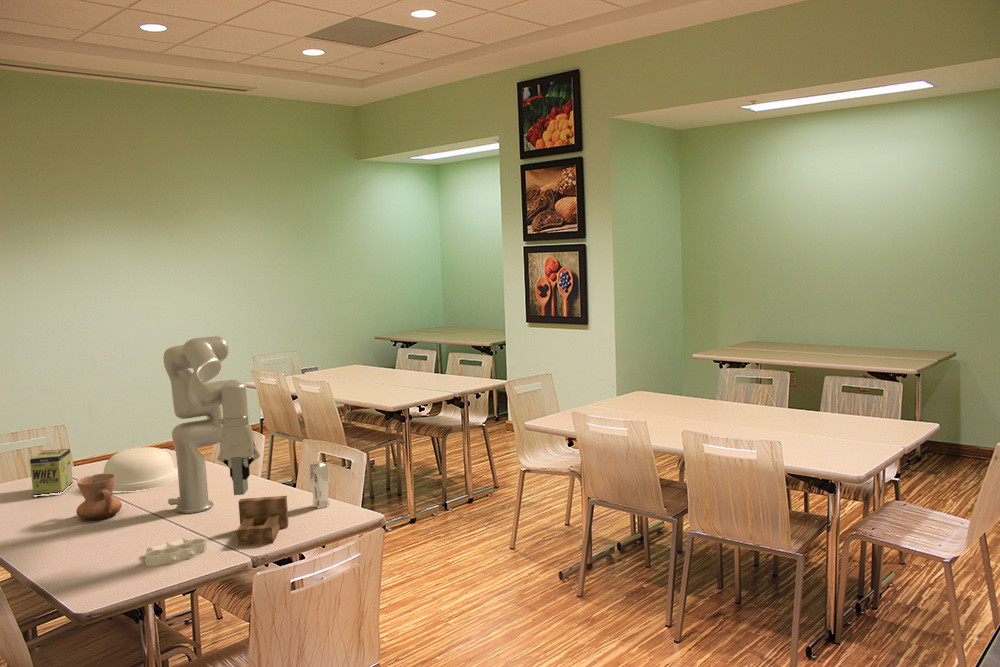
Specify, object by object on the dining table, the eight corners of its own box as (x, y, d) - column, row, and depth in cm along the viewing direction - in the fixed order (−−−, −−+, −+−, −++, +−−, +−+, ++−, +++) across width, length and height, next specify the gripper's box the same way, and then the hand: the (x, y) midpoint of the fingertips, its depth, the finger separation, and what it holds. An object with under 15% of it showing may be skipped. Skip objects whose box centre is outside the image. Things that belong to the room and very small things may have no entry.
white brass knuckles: (194, 543, 250) (214, 554, 240) (135, 559, 238) (153, 571, 227) (193, 532, 250) (213, 543, 239) (135, 548, 238) (153, 560, 227)
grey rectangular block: (233, 495, 247) (231, 457, 246) (238, 489, 253) (235, 453, 252) (243, 494, 247) (240, 457, 246) (248, 489, 253) (245, 452, 252)
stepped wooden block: (230, 546, 244) (228, 515, 244) (242, 528, 261) (240, 498, 260) (280, 542, 246) (278, 511, 245) (288, 524, 263) (286, 495, 262)
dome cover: (167, 469, 346) (164, 437, 345) (192, 481, 324) (190, 447, 323) (87, 485, 325) (84, 451, 324) (109, 499, 303) (106, 463, 301)
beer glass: (334, 503, 285) (332, 462, 283) (324, 509, 278) (321, 467, 277) (317, 502, 287) (315, 461, 286) (307, 508, 280) (304, 466, 279)
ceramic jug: (70, 516, 282) (66, 478, 280) (112, 506, 292) (109, 469, 290) (87, 528, 269) (83, 488, 267) (131, 517, 279) (127, 478, 278)
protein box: (33, 498, 308) (29, 459, 306) (45, 487, 323) (42, 450, 321) (62, 495, 310) (58, 456, 309) (73, 484, 325) (70, 448, 324)
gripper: (206, 426, 244) (210, 484, 245) (259, 422, 245) (264, 480, 247) (212, 421, 251) (217, 477, 253) (264, 418, 253) (268, 474, 254)
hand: (240, 478), depth 250 cm, fingers closed on grey rectangular block, 3 cm apart
